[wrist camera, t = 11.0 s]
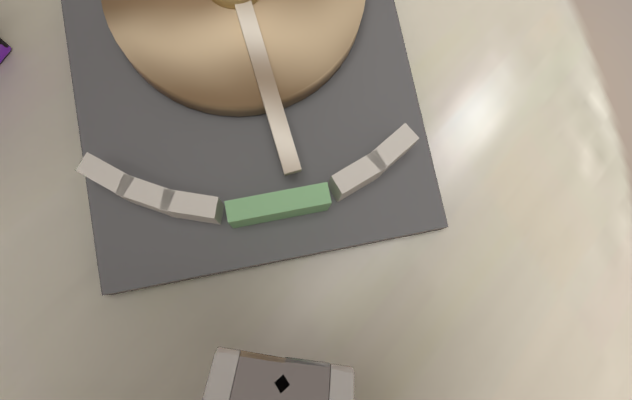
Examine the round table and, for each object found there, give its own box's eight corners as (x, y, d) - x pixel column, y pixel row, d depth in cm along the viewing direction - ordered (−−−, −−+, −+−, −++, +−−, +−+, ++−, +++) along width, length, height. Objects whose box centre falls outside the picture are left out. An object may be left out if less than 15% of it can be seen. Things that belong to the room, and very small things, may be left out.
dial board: (54, -99, 36) (22, -152, 32) (353, -139, 38) (363, -195, 34) (110, 295, 32) (82, 296, 28) (441, 229, 34) (464, 220, 30)
